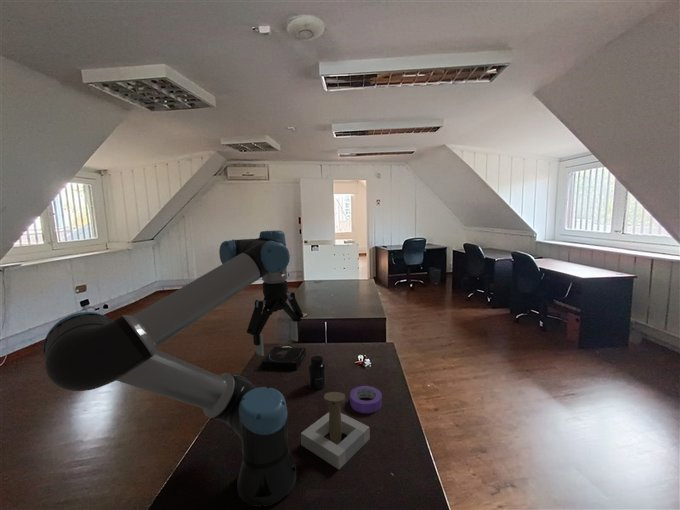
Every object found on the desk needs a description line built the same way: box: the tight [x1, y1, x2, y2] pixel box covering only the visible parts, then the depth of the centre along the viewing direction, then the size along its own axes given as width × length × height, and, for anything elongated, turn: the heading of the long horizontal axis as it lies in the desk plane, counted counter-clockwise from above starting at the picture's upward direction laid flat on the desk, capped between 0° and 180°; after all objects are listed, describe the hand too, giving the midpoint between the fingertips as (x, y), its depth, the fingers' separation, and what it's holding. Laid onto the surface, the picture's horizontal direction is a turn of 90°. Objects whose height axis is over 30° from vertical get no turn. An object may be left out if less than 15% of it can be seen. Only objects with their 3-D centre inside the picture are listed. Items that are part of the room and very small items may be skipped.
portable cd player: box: [260, 346, 307, 372], centre depth 149 cm, size 16×17×4 cm
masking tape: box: [349, 385, 383, 414], centre depth 114 cm, size 12×12×4 cm
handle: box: [323, 391, 346, 445], centre depth 94 cm, size 5×6×15 cm
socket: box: [300, 411, 371, 470], centre depth 94 cm, size 15×15×4 cm
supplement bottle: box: [308, 355, 326, 390], centre depth 126 cm, size 7×7×12 cm
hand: (278, 347), depth 97 cm, fingers open, 13 cm apart
